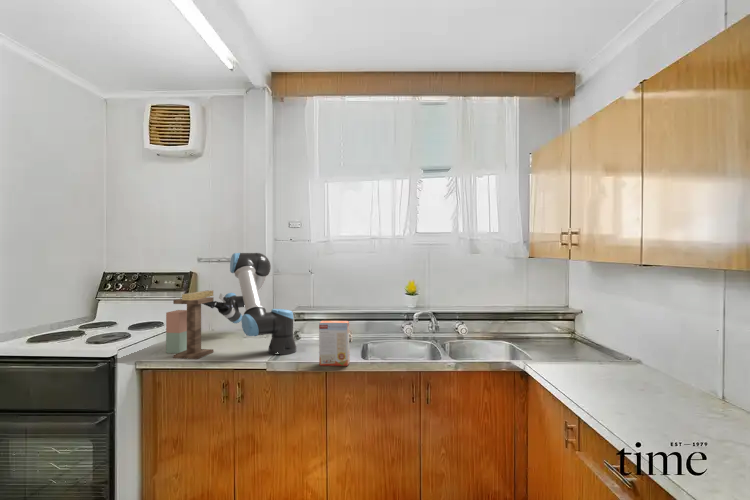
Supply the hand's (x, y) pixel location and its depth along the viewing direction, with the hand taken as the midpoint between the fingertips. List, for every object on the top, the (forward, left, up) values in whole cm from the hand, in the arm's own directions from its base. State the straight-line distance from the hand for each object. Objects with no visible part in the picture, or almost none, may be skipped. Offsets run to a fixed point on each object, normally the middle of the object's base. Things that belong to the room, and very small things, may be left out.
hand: (209, 295), depth 224 cm
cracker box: (-80, +21, -30) cm, 88 cm away
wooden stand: (-1, +15, -30) cm, 34 cm away
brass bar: (-1, +11, 0) cm, 11 cm away
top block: (+13, +8, -19) cm, 25 cm away
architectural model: (-74, -29, -31) cm, 86 cm away
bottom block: (+13, +8, -30) cm, 34 cm away
